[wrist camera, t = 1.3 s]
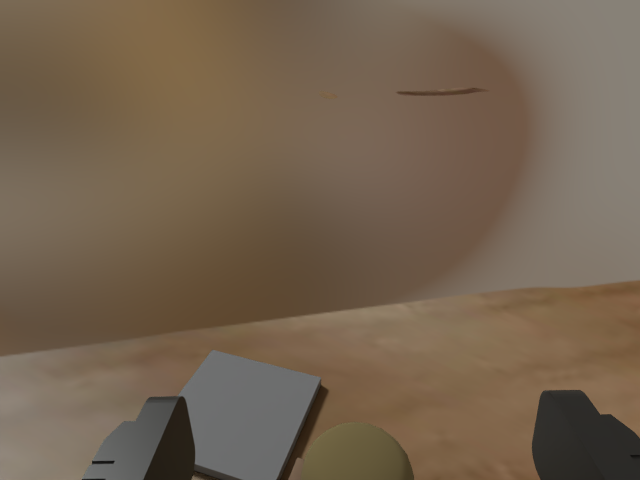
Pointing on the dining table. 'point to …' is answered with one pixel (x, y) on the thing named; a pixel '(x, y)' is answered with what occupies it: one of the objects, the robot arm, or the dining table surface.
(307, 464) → the cork
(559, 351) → the dining table surface
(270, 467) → the slate tile
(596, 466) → the robot arm
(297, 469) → the wooden square frame
